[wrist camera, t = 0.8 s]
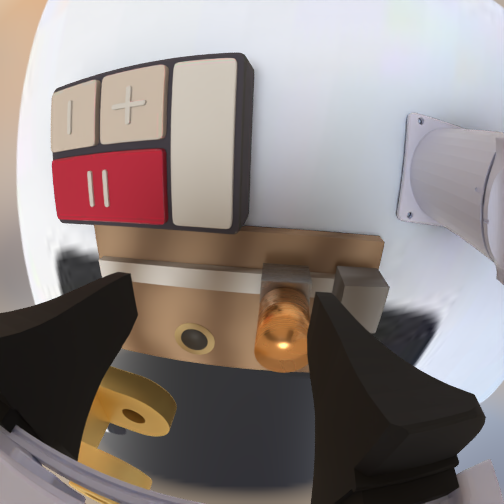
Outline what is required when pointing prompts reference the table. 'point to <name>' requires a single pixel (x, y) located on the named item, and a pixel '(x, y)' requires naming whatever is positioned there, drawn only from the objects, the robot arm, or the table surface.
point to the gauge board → (231, 284)
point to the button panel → (156, 145)
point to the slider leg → (283, 317)
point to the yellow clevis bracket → (123, 424)
